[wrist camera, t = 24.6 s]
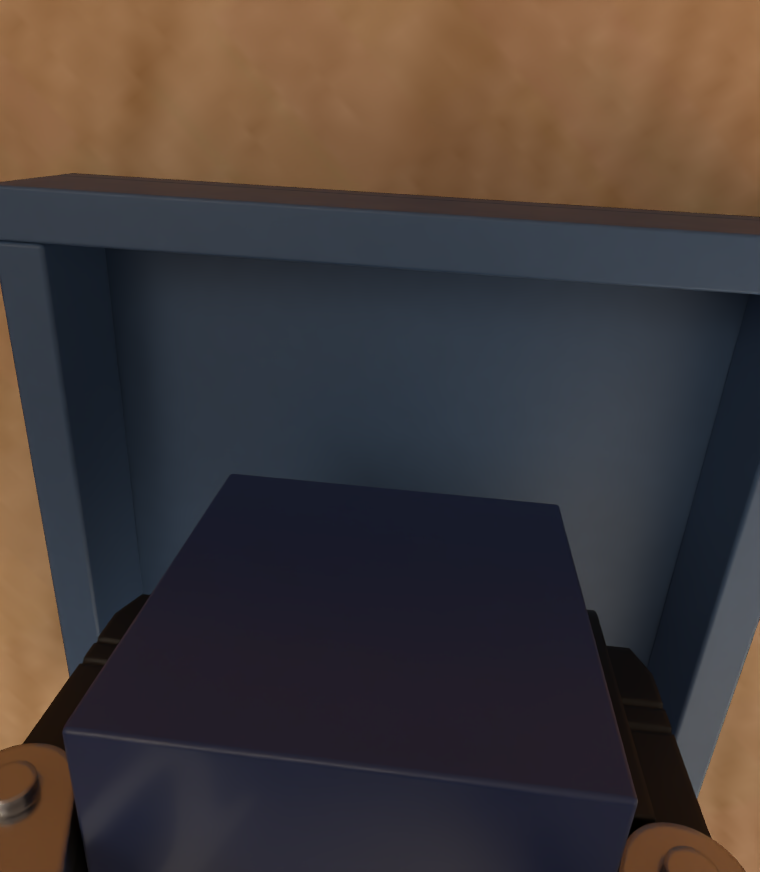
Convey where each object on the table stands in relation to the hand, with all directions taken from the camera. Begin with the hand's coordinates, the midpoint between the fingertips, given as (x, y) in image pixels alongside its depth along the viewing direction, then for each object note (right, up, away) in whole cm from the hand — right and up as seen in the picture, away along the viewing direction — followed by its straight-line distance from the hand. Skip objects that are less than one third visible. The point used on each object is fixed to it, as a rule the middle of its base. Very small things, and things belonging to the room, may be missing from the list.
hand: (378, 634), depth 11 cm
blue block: (0, 0, 0) cm, 0 cm away
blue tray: (0, +2, +3) cm, 4 cm away
